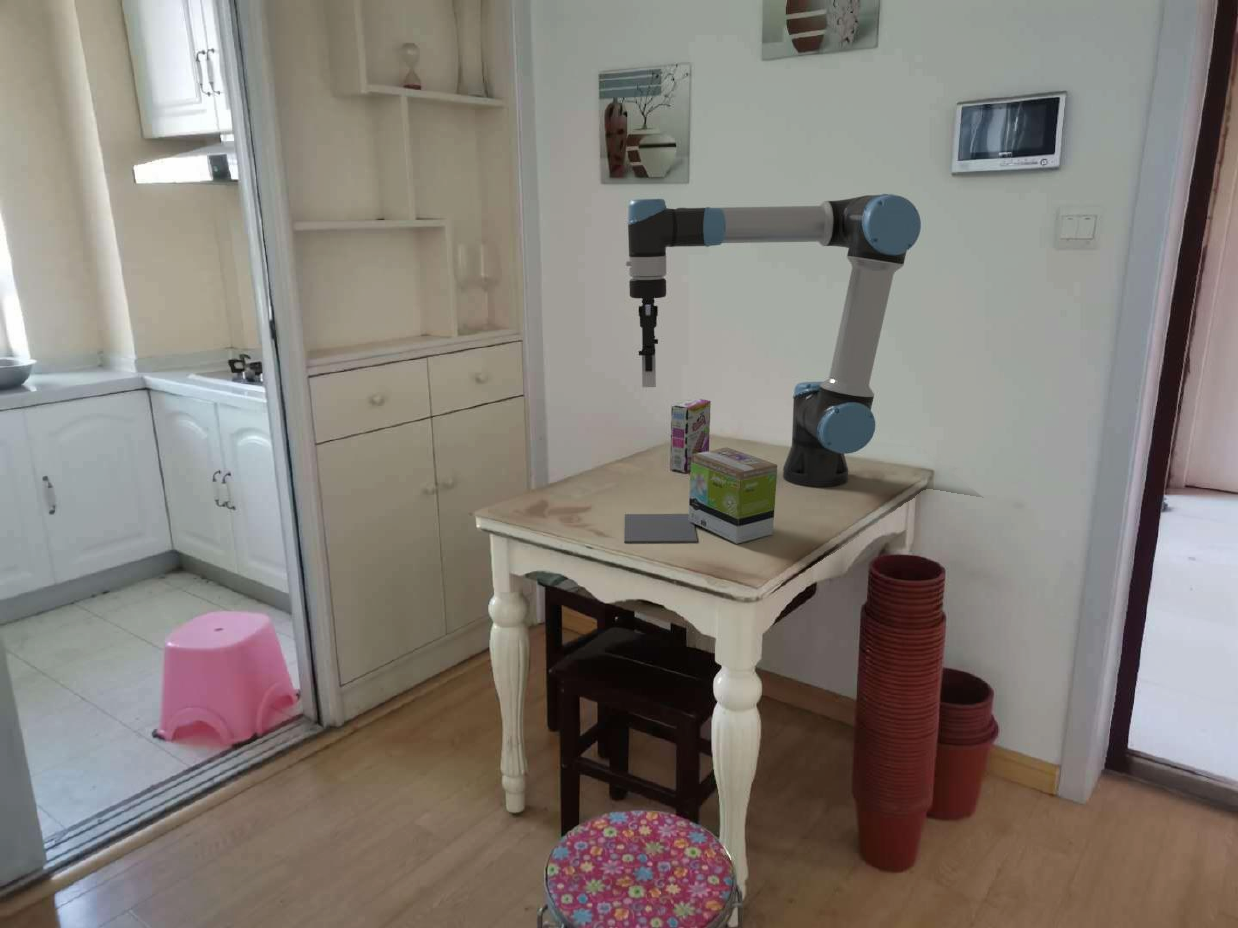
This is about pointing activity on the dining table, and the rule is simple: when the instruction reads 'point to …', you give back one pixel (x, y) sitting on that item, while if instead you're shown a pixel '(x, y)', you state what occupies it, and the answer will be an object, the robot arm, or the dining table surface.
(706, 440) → the candy bar box
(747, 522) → the tea box
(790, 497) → the dining table surface
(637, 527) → the mat
